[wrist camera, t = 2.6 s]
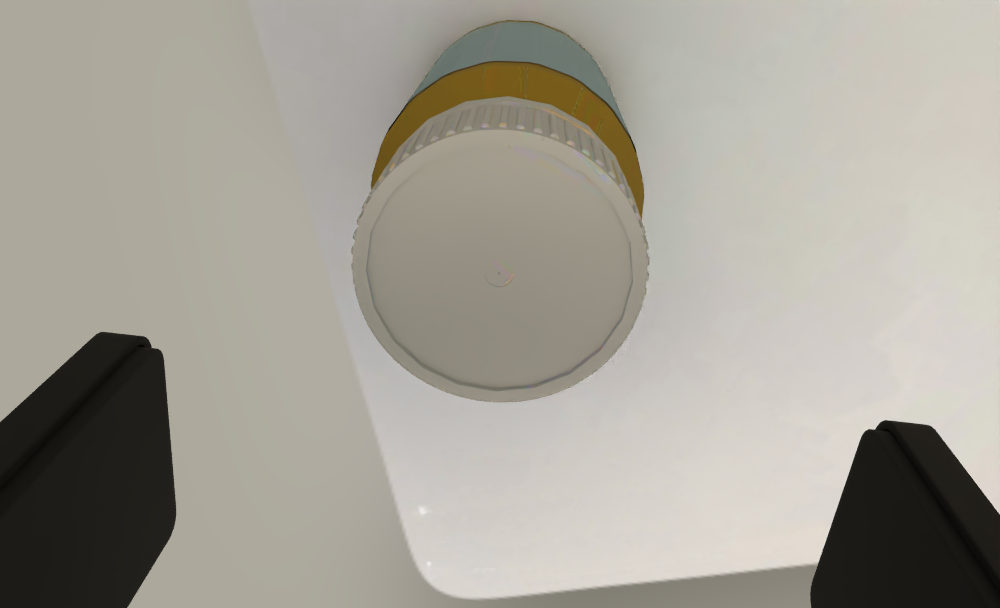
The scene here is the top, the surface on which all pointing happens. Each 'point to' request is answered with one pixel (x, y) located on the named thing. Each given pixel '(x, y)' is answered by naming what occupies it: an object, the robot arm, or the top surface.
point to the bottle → (504, 220)
